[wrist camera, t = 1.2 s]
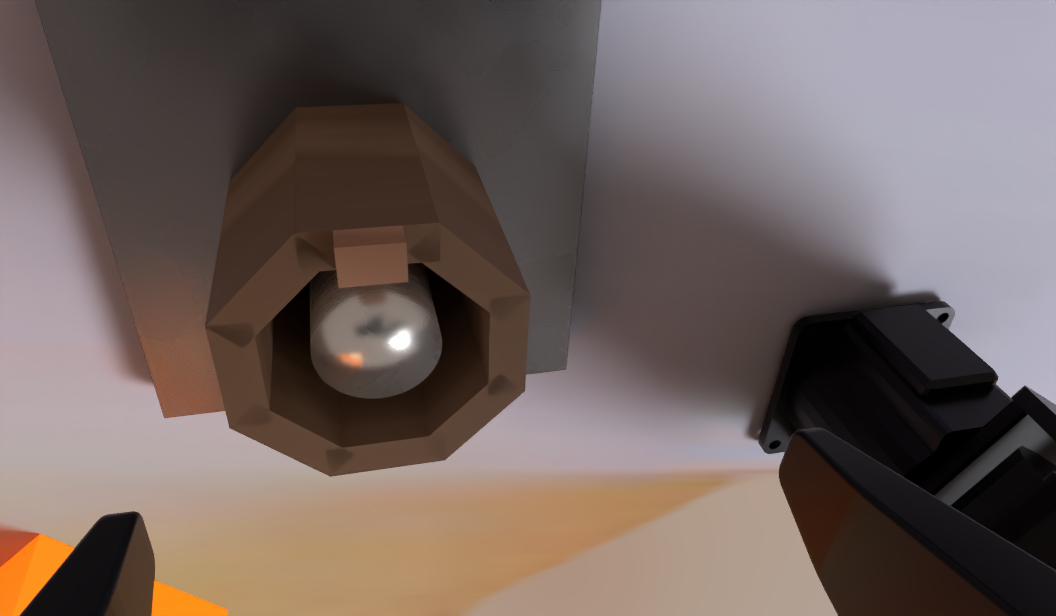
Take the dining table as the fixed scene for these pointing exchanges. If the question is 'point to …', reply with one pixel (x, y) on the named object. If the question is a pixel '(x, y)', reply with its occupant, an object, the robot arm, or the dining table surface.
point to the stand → (309, 81)
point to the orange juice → (28, 571)
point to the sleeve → (360, 260)
